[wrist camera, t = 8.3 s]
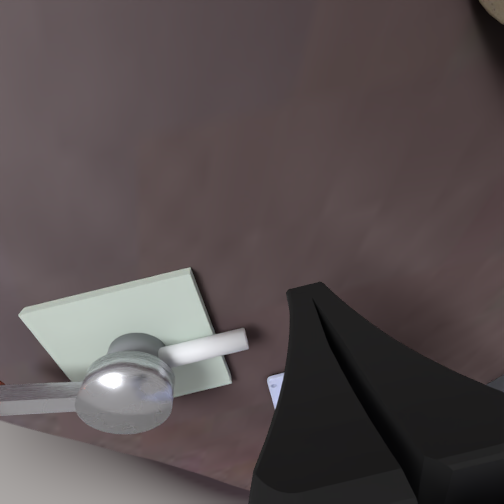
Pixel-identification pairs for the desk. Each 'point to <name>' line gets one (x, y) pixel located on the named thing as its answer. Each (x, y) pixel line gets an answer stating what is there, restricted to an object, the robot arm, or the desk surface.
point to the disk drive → (497, 383)
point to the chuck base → (138, 329)
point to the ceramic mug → (494, 9)
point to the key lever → (103, 394)
